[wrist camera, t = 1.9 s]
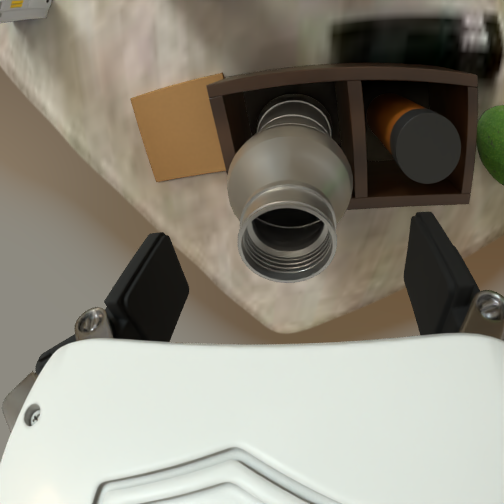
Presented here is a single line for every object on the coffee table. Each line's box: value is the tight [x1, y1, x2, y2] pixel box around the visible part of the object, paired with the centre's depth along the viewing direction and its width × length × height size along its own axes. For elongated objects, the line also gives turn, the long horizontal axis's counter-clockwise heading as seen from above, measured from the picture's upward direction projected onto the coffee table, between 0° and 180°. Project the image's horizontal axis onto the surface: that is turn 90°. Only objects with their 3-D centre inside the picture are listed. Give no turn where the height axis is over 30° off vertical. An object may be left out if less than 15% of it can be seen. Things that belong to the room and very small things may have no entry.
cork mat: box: [131, 73, 226, 182], centre depth 28 cm, size 10×10×1 cm
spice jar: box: [367, 93, 461, 184], centre depth 21 cm, size 5×5×10 cm
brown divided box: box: [206, 63, 478, 210], centre depth 23 cm, size 11×20×8 cm, turn 100°
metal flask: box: [227, 93, 353, 283], centre depth 19 cm, size 6×7×20 cm
